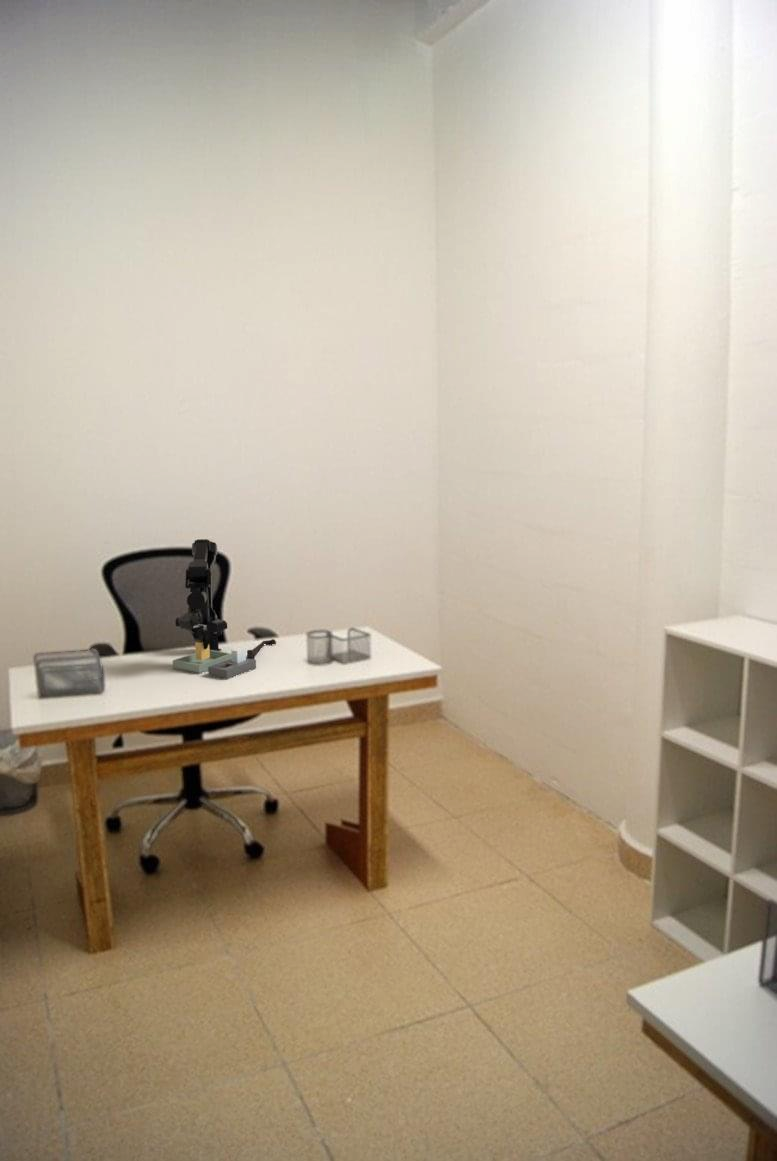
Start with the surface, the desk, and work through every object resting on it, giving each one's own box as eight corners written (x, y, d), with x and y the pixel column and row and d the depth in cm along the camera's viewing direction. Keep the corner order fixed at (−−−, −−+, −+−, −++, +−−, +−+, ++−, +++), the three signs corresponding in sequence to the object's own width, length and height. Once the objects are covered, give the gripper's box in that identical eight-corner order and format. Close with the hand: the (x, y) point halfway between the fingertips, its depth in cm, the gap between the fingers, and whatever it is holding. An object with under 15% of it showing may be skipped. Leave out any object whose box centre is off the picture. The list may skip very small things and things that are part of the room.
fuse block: (208, 675, 287) (208, 666, 287) (238, 665, 299) (237, 656, 298) (227, 679, 283) (226, 670, 282) (256, 668, 294) (255, 659, 294)
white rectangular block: (232, 670, 292) (231, 650, 291) (240, 667, 296) (239, 647, 294) (238, 671, 291) (237, 651, 290) (246, 668, 294) (245, 648, 293)
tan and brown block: (196, 659, 298) (194, 639, 296) (204, 656, 301) (203, 636, 300) (201, 660, 296) (200, 639, 295) (209, 657, 300) (208, 637, 298)
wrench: (277, 649, 326) (260, 666, 296) (263, 650, 326) (245, 667, 296) (276, 635, 325) (259, 651, 295) (262, 636, 325) (243, 652, 296)
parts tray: (173, 669, 296) (172, 660, 295) (207, 657, 309) (206, 649, 308) (199, 674, 289) (199, 665, 289) (233, 662, 302) (232, 653, 302)
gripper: (161, 604, 293) (164, 650, 296) (203, 610, 283) (206, 657, 286) (186, 598, 302) (189, 642, 305) (227, 603, 293) (229, 649, 295)
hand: (202, 648), depth 298 cm, fingers closed on tan and brown block, 2 cm apart
